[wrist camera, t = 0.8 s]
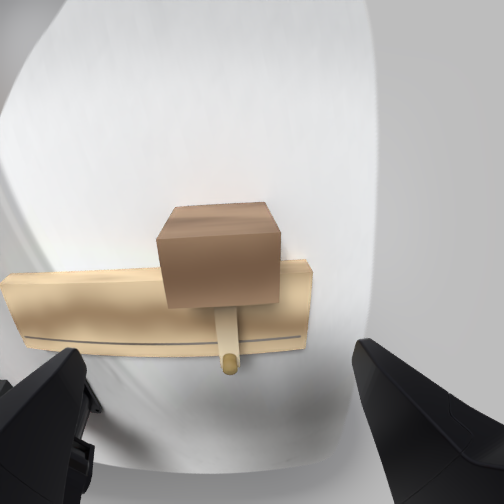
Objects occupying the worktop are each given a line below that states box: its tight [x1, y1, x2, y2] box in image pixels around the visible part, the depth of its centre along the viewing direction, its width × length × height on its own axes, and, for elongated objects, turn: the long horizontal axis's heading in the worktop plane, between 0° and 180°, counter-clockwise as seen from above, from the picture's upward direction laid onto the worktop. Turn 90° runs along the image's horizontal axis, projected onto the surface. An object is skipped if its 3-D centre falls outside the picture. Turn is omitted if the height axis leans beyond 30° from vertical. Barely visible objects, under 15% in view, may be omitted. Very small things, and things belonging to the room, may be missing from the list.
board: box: [0, 259, 313, 357], centre depth 21 cm, size 7×26×2 cm, turn 91°
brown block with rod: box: [156, 202, 281, 375], centre depth 19 cm, size 11×6×6 cm, turn 1°
